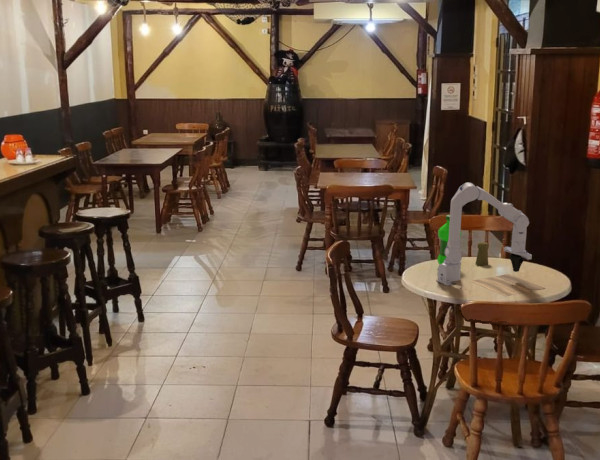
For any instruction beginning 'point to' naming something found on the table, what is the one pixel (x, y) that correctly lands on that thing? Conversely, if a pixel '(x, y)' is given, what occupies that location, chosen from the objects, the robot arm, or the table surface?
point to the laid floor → (498, 287)
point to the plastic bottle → (444, 240)
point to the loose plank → (521, 282)
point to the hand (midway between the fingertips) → (516, 271)
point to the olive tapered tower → (482, 254)
